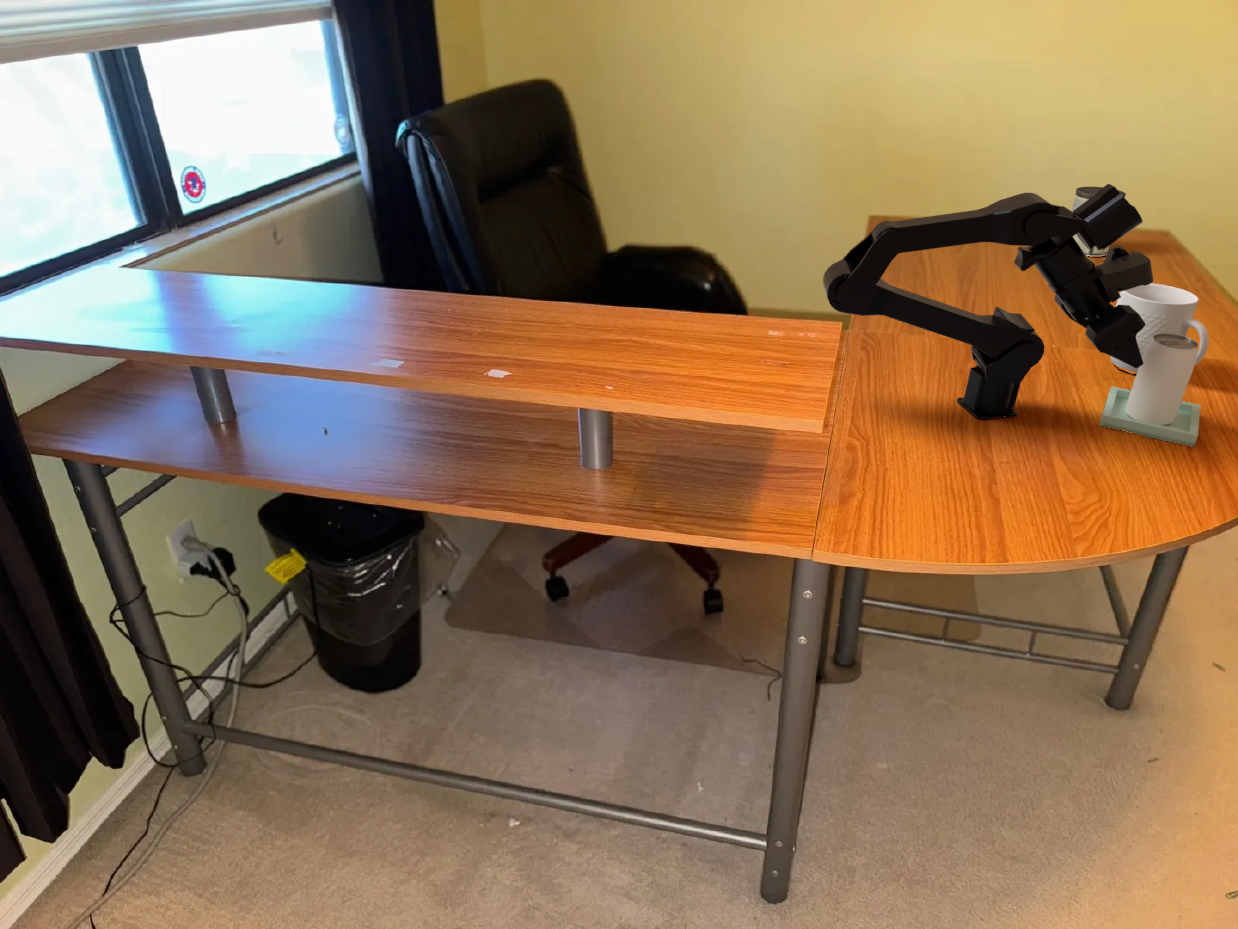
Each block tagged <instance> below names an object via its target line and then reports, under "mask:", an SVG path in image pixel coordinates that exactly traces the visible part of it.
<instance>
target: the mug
mask: <svg viewBox="0 0 1238 929" xmlns="http://www.w3.org/2000/svg"><path fill="white" fill-rule="evenodd" d="M1119 294H1120V296H1121V297H1120V298H1119V299H1117V300H1116V304H1115V307H1116V306H1118V305H1129V306H1130V307H1132V308H1133V309H1134V310H1135V311H1136V312H1137V313H1138V314H1139V315H1140V317H1141V318H1142V319H1143V321H1144V322H1145V324H1146V325H1145V326H1144V328H1143V329H1142V330H1141V331H1140V332H1138V333H1137V335H1136V340H1137V344H1138V347H1139V350H1140V354H1141V357H1143V354H1144V351H1145V349H1146V346H1147V345H1148V343H1149V342H1150V341H1151V340H1152V339H1153V336H1154V335H1155V334H1160V333H1168V334H1176V335H1181V336H1185V337H1187V335H1188V331H1189V329H1190V327H1191V328H1193V329H1195V331H1197V334H1198V336H1199V344H1198V349H1197V353H1198V357H1197V360H1196V363H1195V366H1196V365H1197V364H1198V363H1200V362H1201V361H1202V360H1203V358H1204V357H1205V356H1206V353H1207V351H1208V348H1209V345H1210V336H1209V332H1208V330H1207V327H1206V326H1205V325H1204V324H1203V323H1202V322H1201V321H1199V320H1198V319H1195V318H1194V316H1195V313H1196V309H1197V306H1198V304H1199V297H1198V296H1197V295H1195V294H1194V293H1192V292H1190V291H1188V290H1186V289H1182V288H1179V287H1175V286H1170V285H1166V284H1162V283H1161V284H1160V283H1153V282H1152V283H1151V284H1148V285H1145V286H1144V285H1141V286H1138V287H1134V288H1131V289H1128V290H1125V291H1119ZM1109 356H1110V355H1109ZM1110 361H1111V363H1112V362H1113V363H1114V364H1115V365H1116V366H1118V367H1120V368H1123V369H1126V370H1129V371H1132V372H1135V373H1137V372H1138V369H1139V367H1138V368H1134V367H1132V366H1130V365H1128V364H1126V363H1124V362H1122V361H1120V360H1118V359H1116V358H1114V357H1112V356H1110Z"/></svg>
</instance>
